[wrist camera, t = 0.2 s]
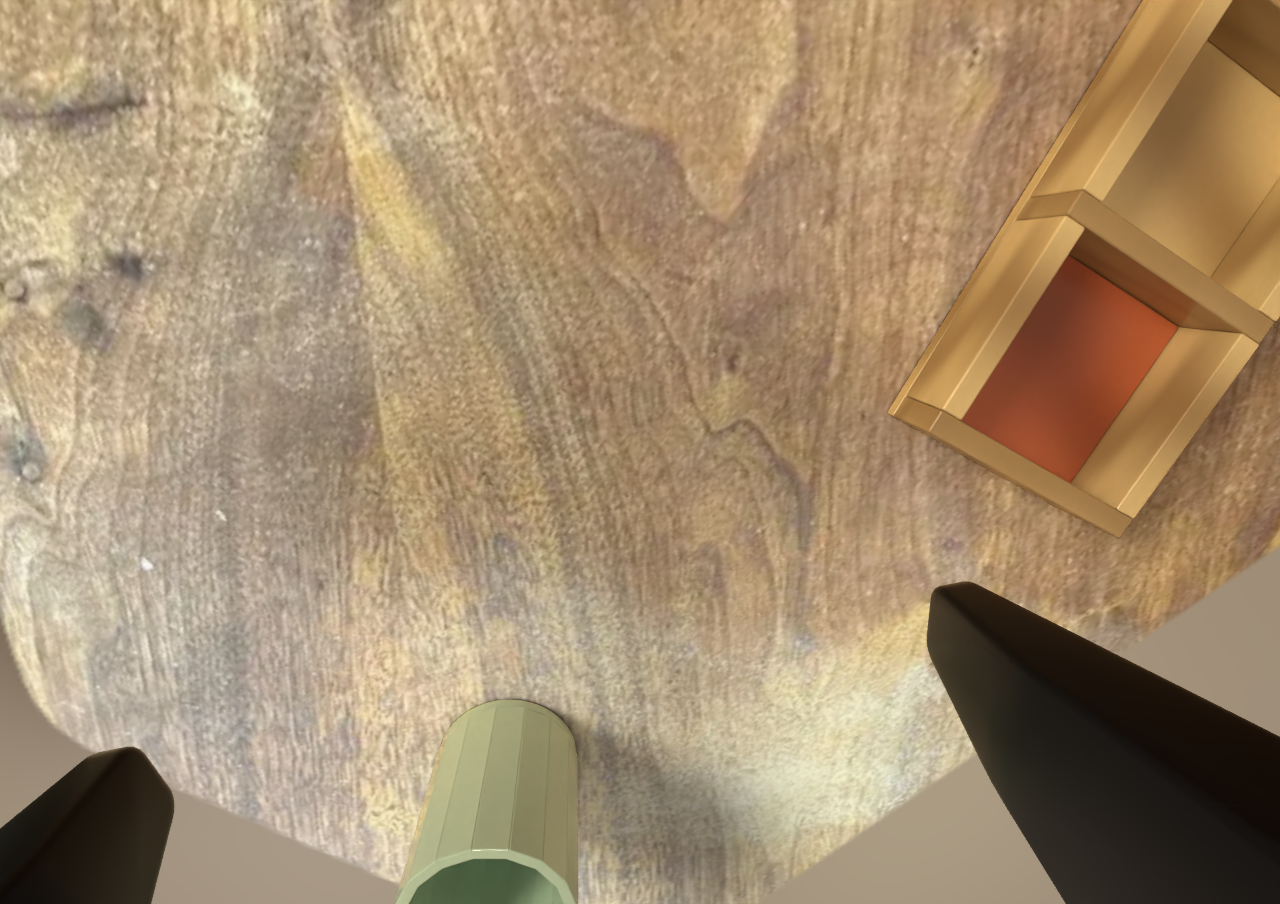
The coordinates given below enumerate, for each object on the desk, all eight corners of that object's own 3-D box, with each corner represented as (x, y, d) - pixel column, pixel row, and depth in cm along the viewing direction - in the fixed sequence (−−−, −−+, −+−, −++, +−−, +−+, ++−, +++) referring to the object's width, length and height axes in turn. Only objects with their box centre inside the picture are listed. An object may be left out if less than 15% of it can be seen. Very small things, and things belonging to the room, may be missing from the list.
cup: (540, 831, 28) (528, 1012, 21) (416, 787, 27) (363, 963, 20) (600, 728, 27) (608, 884, 20) (475, 678, 26) (439, 825, 19)
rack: (1059, 509, 26) (1119, 539, 23) (886, 412, 24) (928, 431, 21) (1485, -104, 22) (1626, -162, 19) (1310, -272, 20) (1434, -364, 17)
